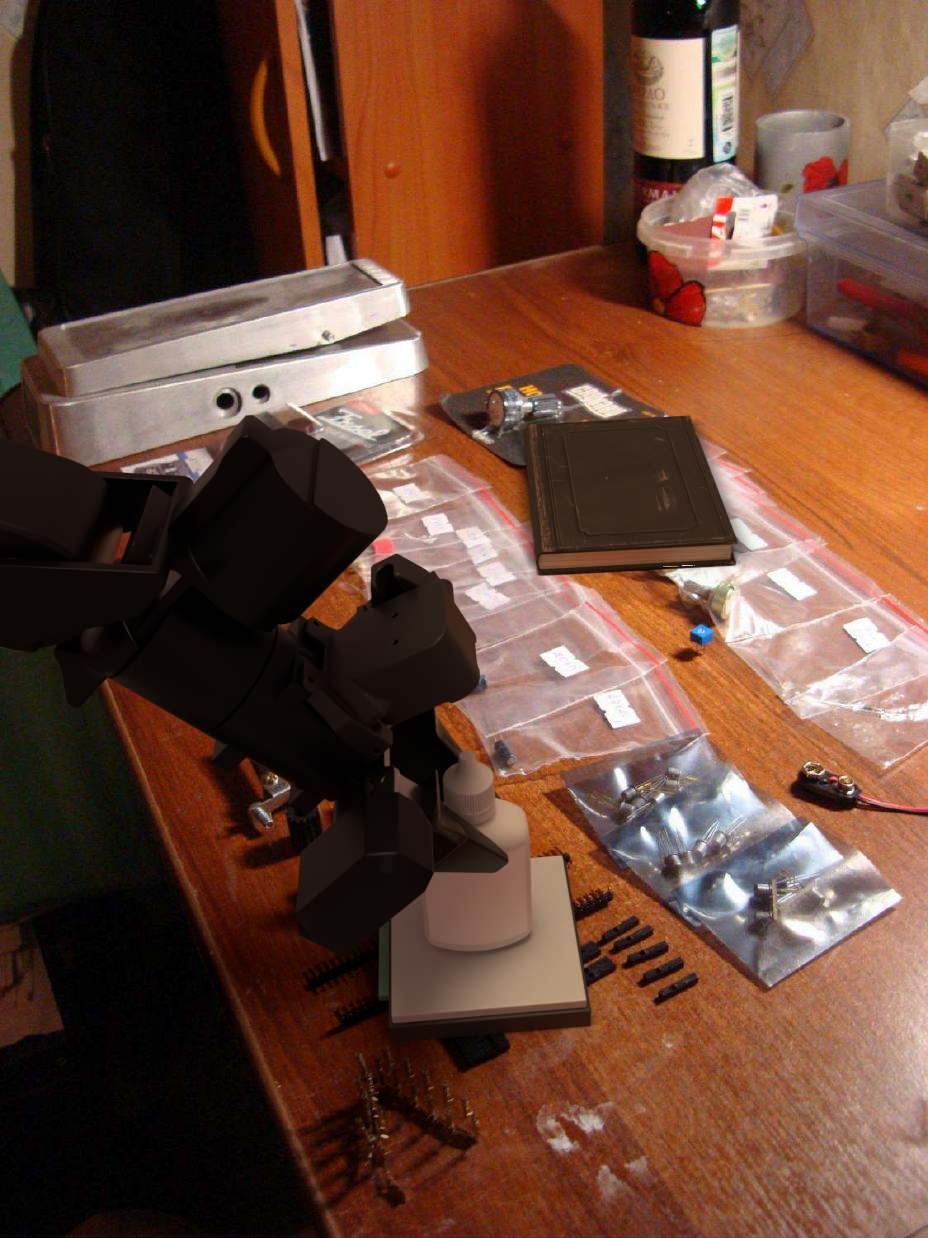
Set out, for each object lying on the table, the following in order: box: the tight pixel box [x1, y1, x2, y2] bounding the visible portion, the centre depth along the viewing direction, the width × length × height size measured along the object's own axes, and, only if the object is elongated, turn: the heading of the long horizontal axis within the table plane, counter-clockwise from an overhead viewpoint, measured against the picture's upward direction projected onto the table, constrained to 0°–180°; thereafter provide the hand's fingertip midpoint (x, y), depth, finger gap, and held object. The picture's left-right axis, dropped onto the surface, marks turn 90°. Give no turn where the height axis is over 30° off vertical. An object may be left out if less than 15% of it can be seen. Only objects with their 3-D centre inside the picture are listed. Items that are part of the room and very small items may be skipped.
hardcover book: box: [523, 414, 739, 576], centre depth 101 cm, size 16×23×2 cm
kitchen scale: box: [378, 855, 592, 1043], centre depth 61 cm, size 11×10×3 cm
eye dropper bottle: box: [420, 749, 532, 951], centre depth 56 cm, size 4×6×12 cm
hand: (499, 836), depth 56 cm, fingers closed on eye dropper bottle, 3 cm apart
